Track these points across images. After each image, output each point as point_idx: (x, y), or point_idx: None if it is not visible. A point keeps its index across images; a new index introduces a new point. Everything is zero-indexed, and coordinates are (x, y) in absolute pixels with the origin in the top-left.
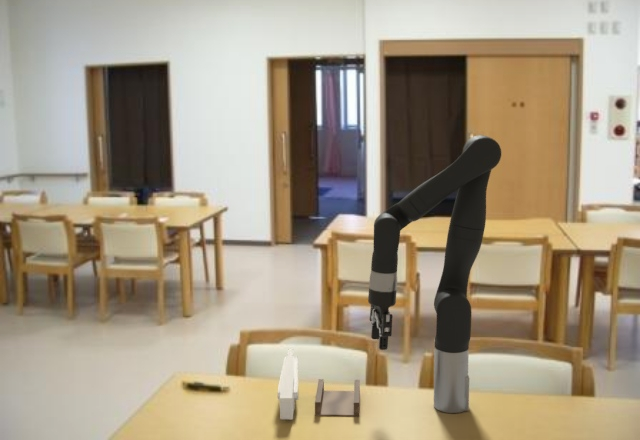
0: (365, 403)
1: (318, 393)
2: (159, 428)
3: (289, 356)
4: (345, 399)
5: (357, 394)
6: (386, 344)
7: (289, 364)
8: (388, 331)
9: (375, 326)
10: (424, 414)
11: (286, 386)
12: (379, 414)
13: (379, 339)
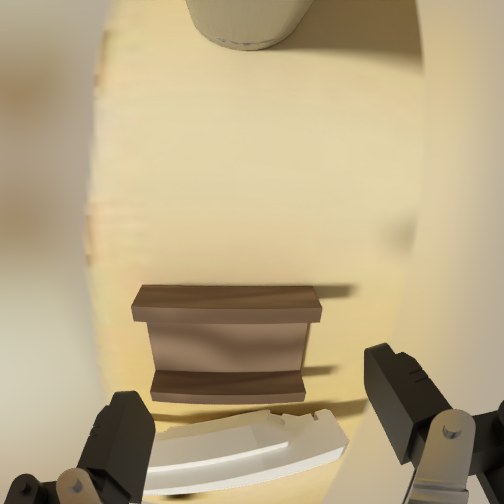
0: (221, 269)
1: (249, 400)
2: (311, 495)
3: (170, 491)
4: (206, 324)
5: (258, 314)
6: (424, 373)
7: (207, 487)
8: (470, 452)
9: (122, 491)
10: (306, 89)
11: (300, 467)
12: (302, 230)
13: (390, 440)
